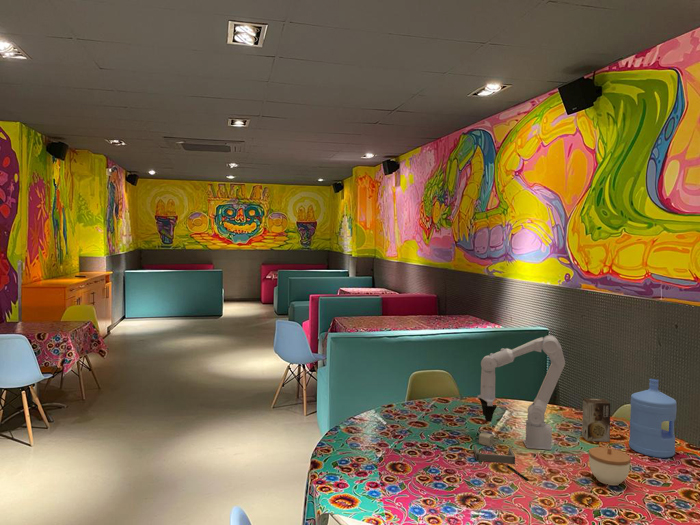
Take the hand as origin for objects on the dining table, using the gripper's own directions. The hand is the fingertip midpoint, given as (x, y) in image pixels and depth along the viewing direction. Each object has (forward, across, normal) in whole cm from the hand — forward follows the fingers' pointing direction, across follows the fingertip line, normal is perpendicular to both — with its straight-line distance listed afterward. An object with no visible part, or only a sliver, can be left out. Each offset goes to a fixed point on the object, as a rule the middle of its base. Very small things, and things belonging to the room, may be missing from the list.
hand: (487, 418), depth 208 cm
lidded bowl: (+9, +32, +36) cm, 49 cm away
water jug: (+9, 0, +63) cm, 64 cm away
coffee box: (+9, -9, +45) cm, 47 cm away
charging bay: (+8, +19, 0) cm, 21 cm away
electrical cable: (+9, +32, +6) cm, 34 cm away
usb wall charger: (+9, +7, 0) cm, 11 cm away
